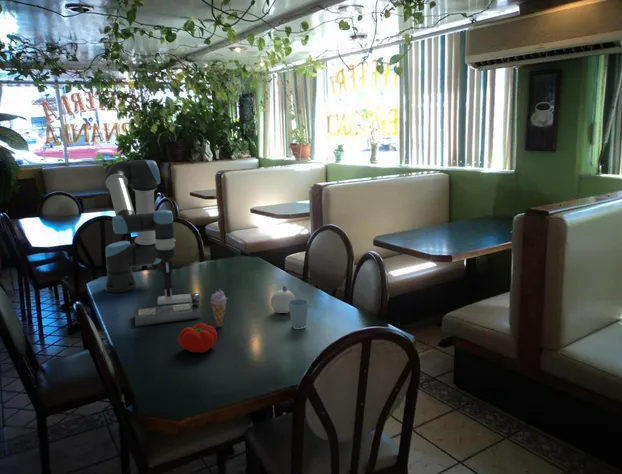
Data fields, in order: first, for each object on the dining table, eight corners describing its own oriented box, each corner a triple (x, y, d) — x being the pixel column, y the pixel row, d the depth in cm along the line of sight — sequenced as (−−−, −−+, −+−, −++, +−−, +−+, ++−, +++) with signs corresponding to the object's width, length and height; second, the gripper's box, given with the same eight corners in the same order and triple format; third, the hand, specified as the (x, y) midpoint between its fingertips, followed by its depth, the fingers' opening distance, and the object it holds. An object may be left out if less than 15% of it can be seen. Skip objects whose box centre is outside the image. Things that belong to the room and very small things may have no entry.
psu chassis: (135, 316, 213) (134, 304, 212) (198, 308, 222) (197, 297, 221) (135, 326, 202) (134, 313, 201) (202, 317, 210) (201, 305, 209)
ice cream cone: (231, 324, 202) (230, 289, 199) (224, 330, 196) (222, 293, 193) (217, 323, 204) (215, 287, 201) (209, 328, 198) (207, 292, 195)
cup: (302, 332, 194) (302, 306, 192) (285, 329, 197) (284, 303, 195) (311, 325, 200) (311, 300, 198) (294, 322, 204) (294, 298, 202)
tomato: (182, 361, 170) (181, 336, 168) (176, 347, 181) (175, 324, 180) (222, 353, 175) (221, 330, 174) (214, 340, 187) (213, 318, 185)
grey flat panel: (158, 300, 215) (158, 295, 215) (200, 297, 219) (199, 291, 219) (157, 305, 210) (157, 299, 210) (200, 301, 214) (199, 295, 214)
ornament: (299, 310, 217) (298, 284, 215) (288, 318, 208) (287, 290, 206) (278, 307, 222) (277, 281, 219) (267, 315, 213) (266, 288, 210)
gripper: (176, 250, 201) (179, 306, 206) (173, 244, 213) (176, 297, 218) (156, 252, 199) (160, 308, 203) (155, 245, 211) (158, 299, 215)
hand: (168, 303), depth 210 cm, fingers closed
